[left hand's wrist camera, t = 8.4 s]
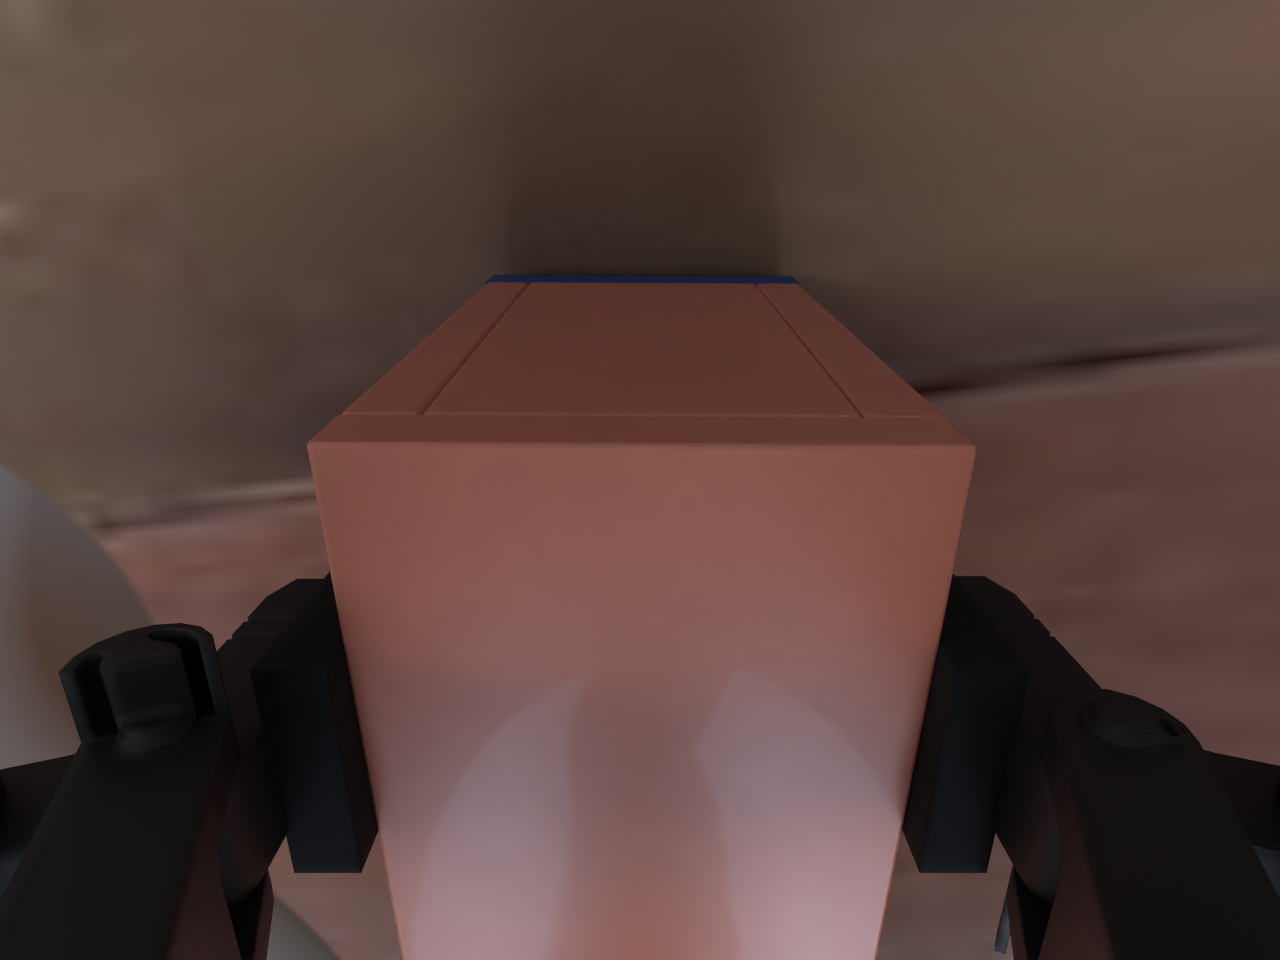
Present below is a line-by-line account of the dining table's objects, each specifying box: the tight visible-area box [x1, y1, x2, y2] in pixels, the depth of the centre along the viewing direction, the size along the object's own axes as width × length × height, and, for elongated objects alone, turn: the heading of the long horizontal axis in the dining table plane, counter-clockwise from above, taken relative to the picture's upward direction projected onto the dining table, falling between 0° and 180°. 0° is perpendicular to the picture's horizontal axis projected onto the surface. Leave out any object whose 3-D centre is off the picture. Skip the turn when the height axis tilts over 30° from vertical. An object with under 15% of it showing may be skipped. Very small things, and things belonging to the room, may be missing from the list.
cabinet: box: [307, 275, 977, 960], centre depth 15 cm, size 16×6×10 cm, turn 0°
